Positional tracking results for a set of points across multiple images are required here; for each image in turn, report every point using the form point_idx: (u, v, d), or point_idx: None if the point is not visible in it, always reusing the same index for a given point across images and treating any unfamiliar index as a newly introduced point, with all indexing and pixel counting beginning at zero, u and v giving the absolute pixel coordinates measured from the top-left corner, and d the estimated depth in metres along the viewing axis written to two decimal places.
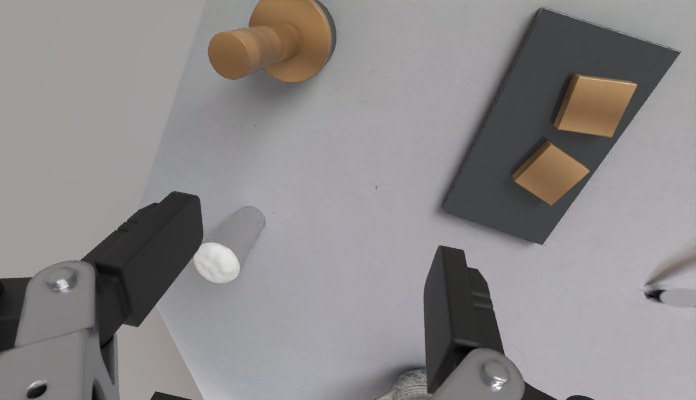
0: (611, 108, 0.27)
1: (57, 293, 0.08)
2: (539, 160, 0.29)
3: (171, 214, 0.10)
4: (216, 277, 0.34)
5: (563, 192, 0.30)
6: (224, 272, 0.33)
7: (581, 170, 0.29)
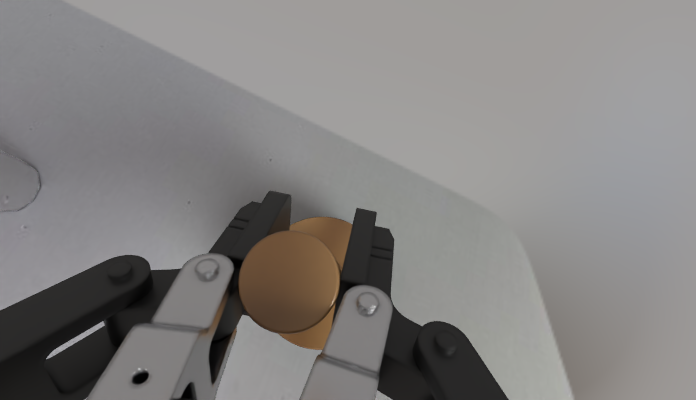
0: None
1: (208, 283, 0.08)
2: None
3: (276, 212, 0.11)
4: None
5: None
6: None
7: None
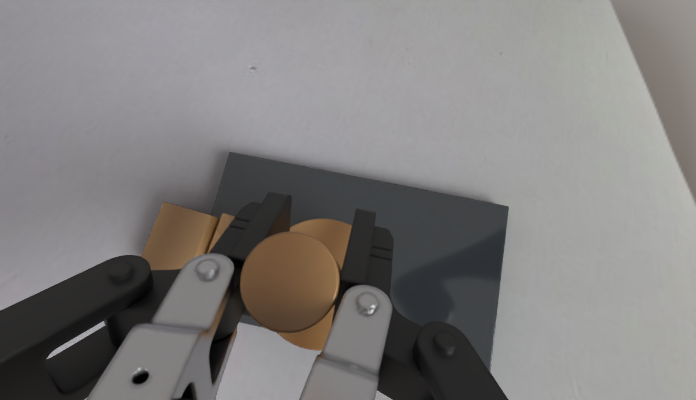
0: None
1: (209, 283, 0.08)
2: (191, 213, 0.21)
3: (276, 212, 0.11)
4: None
5: (155, 267, 0.21)
6: None
7: None
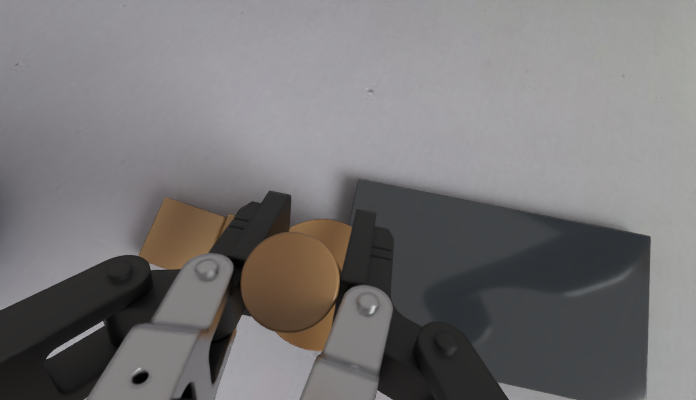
0: None
1: (208, 283, 0.08)
2: (200, 213, 0.22)
3: (276, 212, 0.11)
4: None
5: (160, 263, 0.21)
6: None
7: None
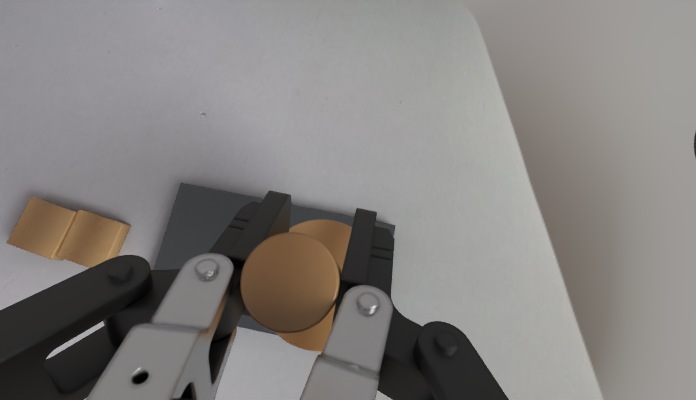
0: (85, 252, 0.29)
1: (208, 283, 0.08)
2: (57, 208, 0.29)
3: (276, 212, 0.11)
4: None
5: (23, 246, 0.28)
6: None
7: (50, 250, 0.28)
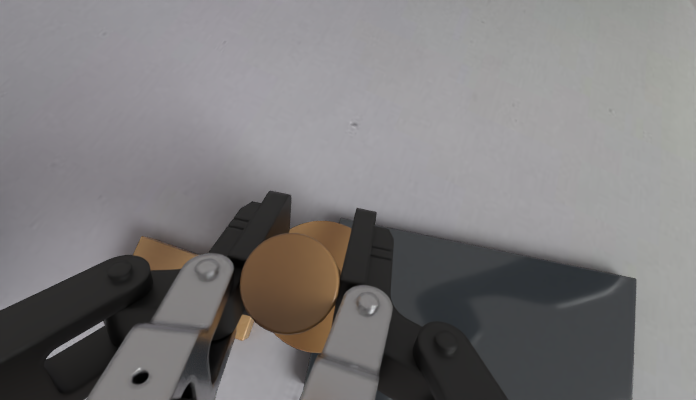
0: None
1: (208, 283, 0.08)
2: (177, 253, 0.22)
3: (276, 212, 0.11)
4: None
5: None
6: None
7: None
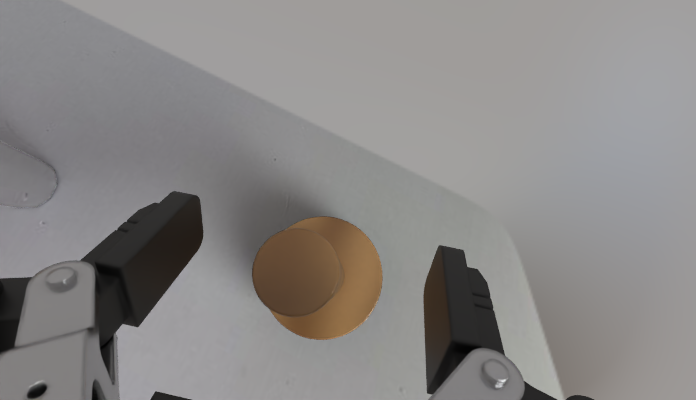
0: None
1: (57, 293, 0.08)
2: None
3: (171, 214, 0.10)
4: None
5: None
6: None
7: None
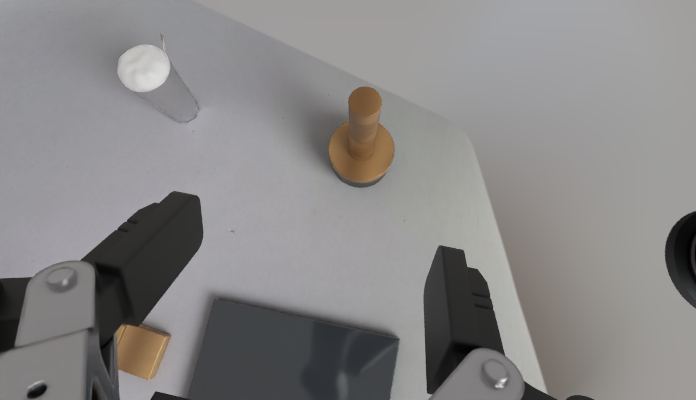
0: (134, 363, 0.33)
1: (57, 293, 0.08)
2: None
3: (171, 214, 0.10)
4: (127, 65, 0.31)
5: None
6: (135, 75, 0.31)
7: None
